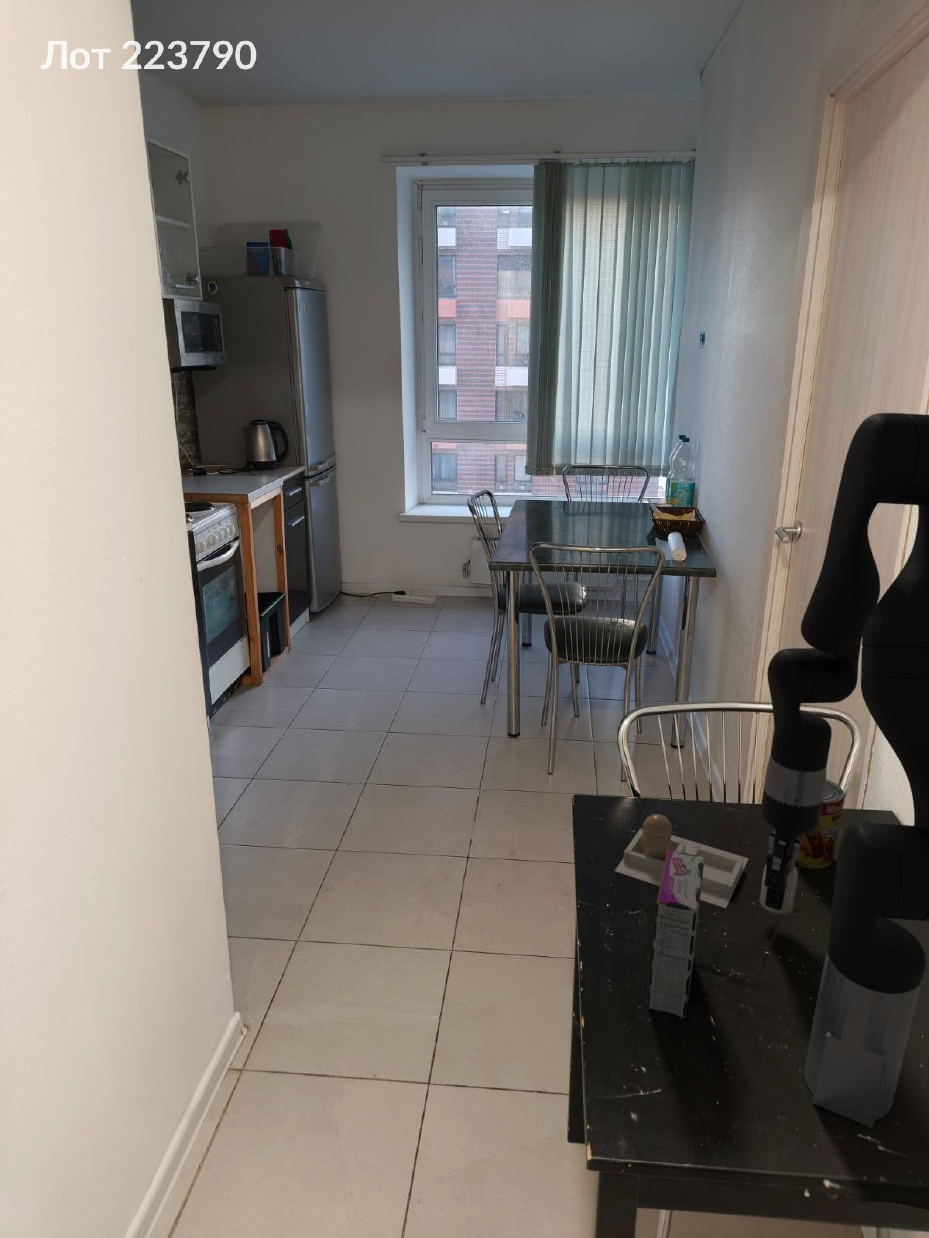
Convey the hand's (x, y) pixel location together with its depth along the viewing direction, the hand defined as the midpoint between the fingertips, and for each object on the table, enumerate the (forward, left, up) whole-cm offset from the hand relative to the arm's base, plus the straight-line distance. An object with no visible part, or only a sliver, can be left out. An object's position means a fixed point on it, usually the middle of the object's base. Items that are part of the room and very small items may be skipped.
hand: (777, 896), depth 120 cm
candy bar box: (-19, +9, -5) cm, 21 cm away
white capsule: (0, 0, -1) cm, 1 cm away
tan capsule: (+6, +20, -4) cm, 21 cm away
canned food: (+20, -1, -5) cm, 21 cm away
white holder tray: (+6, +15, -5) cm, 17 cm away
